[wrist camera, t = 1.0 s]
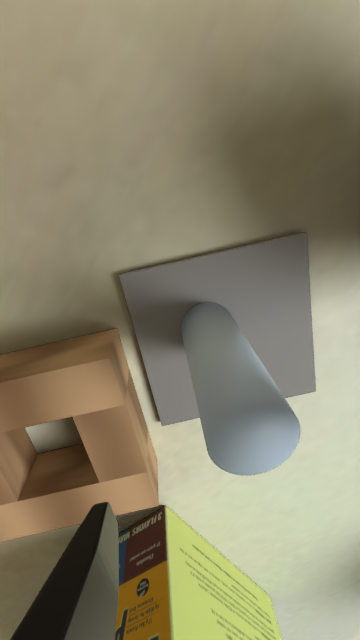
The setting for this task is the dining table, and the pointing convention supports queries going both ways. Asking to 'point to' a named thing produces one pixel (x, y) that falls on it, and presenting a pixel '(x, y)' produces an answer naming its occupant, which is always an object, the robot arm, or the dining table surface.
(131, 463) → the hole block
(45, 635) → the robot arm
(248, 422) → the peg
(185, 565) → the protein box
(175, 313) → the mat
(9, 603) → the dining table surface
